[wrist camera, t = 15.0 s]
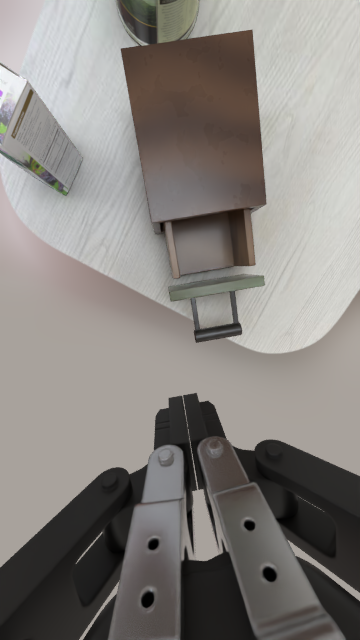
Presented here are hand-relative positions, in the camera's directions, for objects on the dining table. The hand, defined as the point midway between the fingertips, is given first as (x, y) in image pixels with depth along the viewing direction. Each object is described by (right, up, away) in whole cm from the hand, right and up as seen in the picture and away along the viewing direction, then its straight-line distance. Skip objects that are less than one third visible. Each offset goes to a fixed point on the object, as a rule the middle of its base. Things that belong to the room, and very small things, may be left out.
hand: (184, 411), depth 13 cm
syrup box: (-17, +26, +21) cm, 38 cm away
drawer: (+3, +13, +24) cm, 28 cm away
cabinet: (+1, +26, +22) cm, 34 cm away
